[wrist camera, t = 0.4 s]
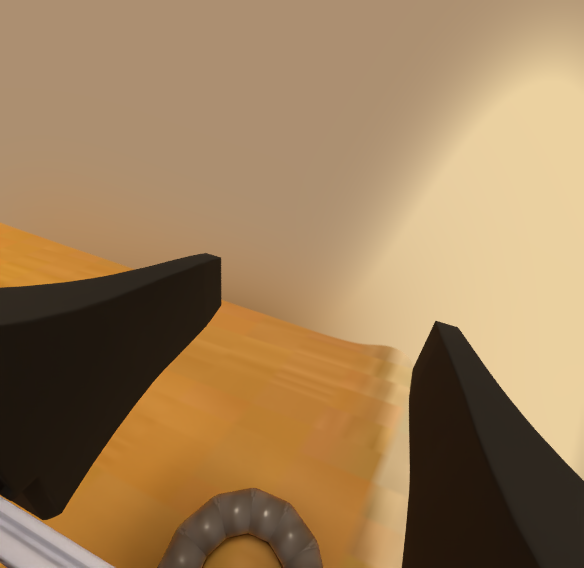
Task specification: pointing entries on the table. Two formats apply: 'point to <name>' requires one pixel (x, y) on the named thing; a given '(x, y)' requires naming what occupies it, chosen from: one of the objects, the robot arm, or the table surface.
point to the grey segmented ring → (243, 530)
